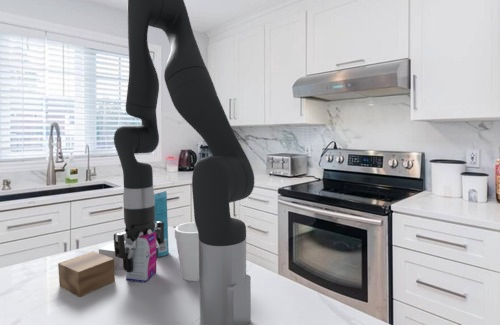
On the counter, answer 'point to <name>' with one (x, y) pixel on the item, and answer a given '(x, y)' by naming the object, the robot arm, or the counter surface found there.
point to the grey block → (112, 255)
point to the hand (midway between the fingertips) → (141, 266)
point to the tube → (162, 220)
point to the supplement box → (143, 258)
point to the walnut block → (86, 273)
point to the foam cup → (188, 250)
